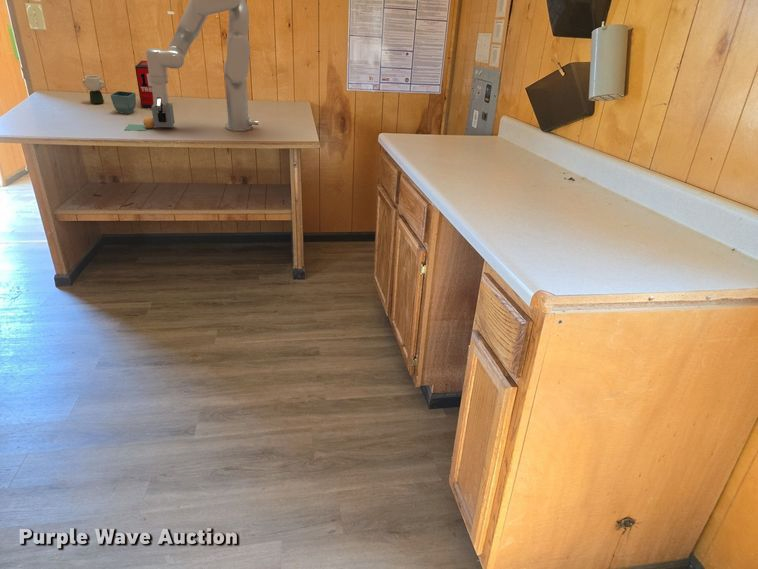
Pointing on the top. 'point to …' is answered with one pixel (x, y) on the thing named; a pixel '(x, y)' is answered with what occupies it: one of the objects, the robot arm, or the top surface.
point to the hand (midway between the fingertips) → (164, 119)
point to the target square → (135, 127)
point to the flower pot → (124, 101)
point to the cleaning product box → (144, 85)
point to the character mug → (94, 88)
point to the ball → (148, 122)
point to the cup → (168, 112)
